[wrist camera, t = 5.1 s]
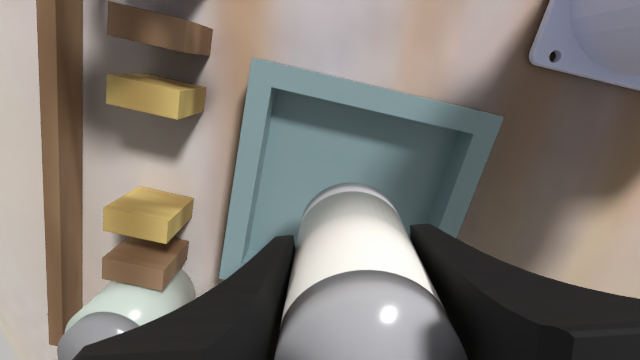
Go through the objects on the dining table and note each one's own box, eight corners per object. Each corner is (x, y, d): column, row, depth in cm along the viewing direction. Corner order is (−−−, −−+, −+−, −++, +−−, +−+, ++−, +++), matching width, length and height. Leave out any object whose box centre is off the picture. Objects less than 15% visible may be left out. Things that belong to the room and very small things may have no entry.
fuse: (398, 178, 13) (473, 293, 6) (401, 269, 14) (466, 448, 7) (294, 187, 13) (257, 307, 6) (306, 276, 14) (285, 456, 8)
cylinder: (197, 264, 20) (151, 326, 15) (193, 328, 21) (150, 406, 16) (119, 252, 20) (46, 310, 15) (121, 317, 21) (54, 391, 16)
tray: (482, 111, 16) (504, 116, 14) (414, 295, 20) (423, 321, 18) (262, 59, 16) (252, 57, 14) (230, 256, 19) (218, 278, 17)
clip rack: (239, -206, 13) (213, -284, 10) (176, 346, 22) (153, 388, 19) (61, -253, 13) (-17, -347, 10) (69, 324, 21) (29, 364, 18)
